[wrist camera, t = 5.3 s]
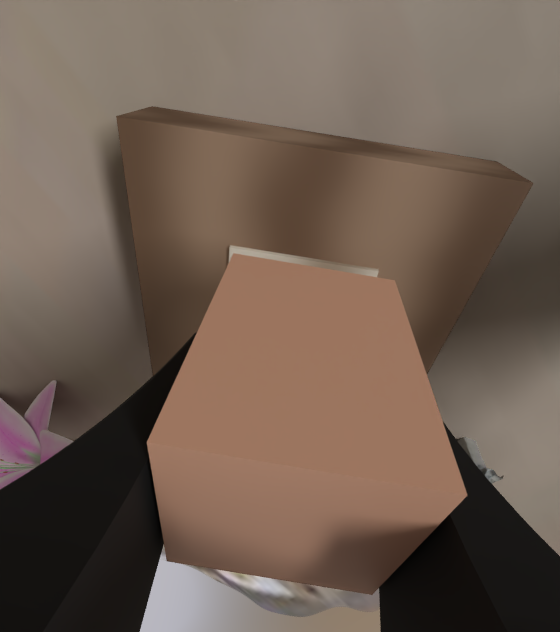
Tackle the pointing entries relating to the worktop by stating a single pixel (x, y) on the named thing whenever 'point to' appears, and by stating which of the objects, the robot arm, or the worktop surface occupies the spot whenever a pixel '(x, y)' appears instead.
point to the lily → (27, 437)
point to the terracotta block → (302, 432)
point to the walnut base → (304, 216)
